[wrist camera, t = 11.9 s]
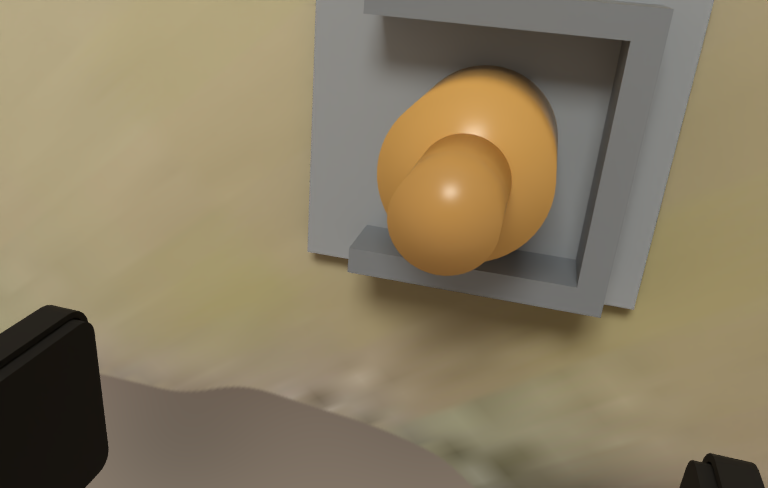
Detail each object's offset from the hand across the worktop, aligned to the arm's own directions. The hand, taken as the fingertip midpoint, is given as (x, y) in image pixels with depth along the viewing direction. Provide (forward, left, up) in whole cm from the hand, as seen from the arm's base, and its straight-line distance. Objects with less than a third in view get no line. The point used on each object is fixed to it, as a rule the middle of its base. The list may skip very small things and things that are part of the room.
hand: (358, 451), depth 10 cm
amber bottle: (0, 0, -21) cm, 21 cm away
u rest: (0, 0, -22) cm, 22 cm away
